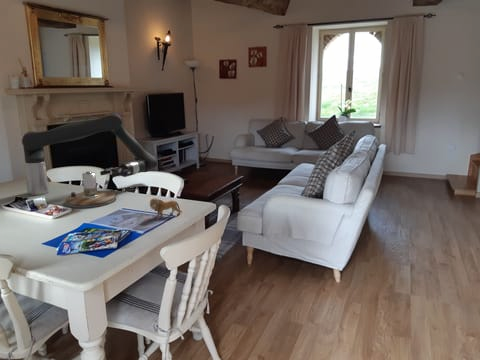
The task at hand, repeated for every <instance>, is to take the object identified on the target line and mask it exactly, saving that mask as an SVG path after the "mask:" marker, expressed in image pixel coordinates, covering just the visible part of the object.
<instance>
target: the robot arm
mask: <svg viewBox="0 0 480 360" xmlns="http://www.w3.org/2000/svg"><path fill="white" fill-rule="evenodd" d="M109 131H110V132H111V134H112V133H113V134H114V135H115V136H116V137H117V138H118V139H119V140H120V141H121V143H122V144H123V145H124V146H125V147H126V148H127V149H128V151H129V152H130V154H132V155H133V157H135V159H137V160H135V161H128V162H124V163H121V164H119V166H118V167H113V166H111V167H108V168H103V170H101V171H100V173H99V174H100V176H105V175H111V177H112V178H116V177H124V178H127V177H130V176H135V175H137V174H139V173H148V172H150V171H152V170H153V169H155V168H157V167H158V164H159V162H158V159H157V157H155V156H154V155H152V154H151V153H149V152H148V151H146V150H145V149H144V147H143V146H142V145H141V143H139V142H138V141H137V140H136V138H134V137H133V135H131V134H130V133H129V132H128V131H127V130H126V128H125V126H123V119H122V118H121V116H120V115H118V114H116V113H111V114H108V115H105V116H103V117H100V118H99V117H98V118H95V119H87V120H81V121H75V122H69V123H66V124H62V125H60V126H57V127H55V128H52V129H49V130H43V131H33V130H30V131H27V132H26V133H24V134H23V135H22V138H21V143H22V146H23V152H24V153H23V154H24V163H25V169H26V176H25V183H26V190H27V194H28V195H32V196H39V195H44V194H48V193H49V192H50V190H49V183H48V174H47V167H46V160H45V159H46V158H45V151H44V147H47V146H50V145H54V144H59V143H61V144H62V143H65V142H72V141H76V140H80V139H85V138H87V137H89V136H93V135H95V134H98V133H101V132H103V133H104V132H109ZM141 159H142V160H141Z"/></svg>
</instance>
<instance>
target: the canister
mask: <svg viewBox="0 0 480 360" xmlns="http://www.w3.org/2000/svg"><path fill="white" fill-rule="evenodd" d="M81 174H82V182H83V185H82V186H83V192H84V198H87V199H90V198H96V197H98V194H97V191H98V189H97V179H96V177H97V176H96V172H93V171H85V172H82V173H81Z"/></svg>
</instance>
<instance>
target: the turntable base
mask: <svg viewBox="0 0 480 360" xmlns="http://www.w3.org/2000/svg"><path fill="white" fill-rule="evenodd" d="M116 201H117V196H116V195H115V198H114V199H113V200H111V201H109V202H106V203H102V204H97V205H89V206H75V205H70V204H67V203H66V200H65V201H64V203H65V206H66V207H69V208H73V209H91V208H92V209H94V208H99V207H104V206H107V205H110V204H112V203H114V202H116Z"/></svg>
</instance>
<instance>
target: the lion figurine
mask: <svg viewBox="0 0 480 360" xmlns="http://www.w3.org/2000/svg"><path fill="white" fill-rule="evenodd" d="M149 207H150V209H152V210H154V212H157V214H156V217H159V218H160V219H162V218H163V212H164V211H167V210H169V209H171V212H169V214H170V215H173V214H174V213H175V211H176V212H178V213H177V216H180V215H181V213H183V211H182V210H180V209H181V208H180V205H179V202H177V201H175V200H169V201H163V200H162V199H159V198H157V197H153V198H151V199H150V201H149Z"/></svg>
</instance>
